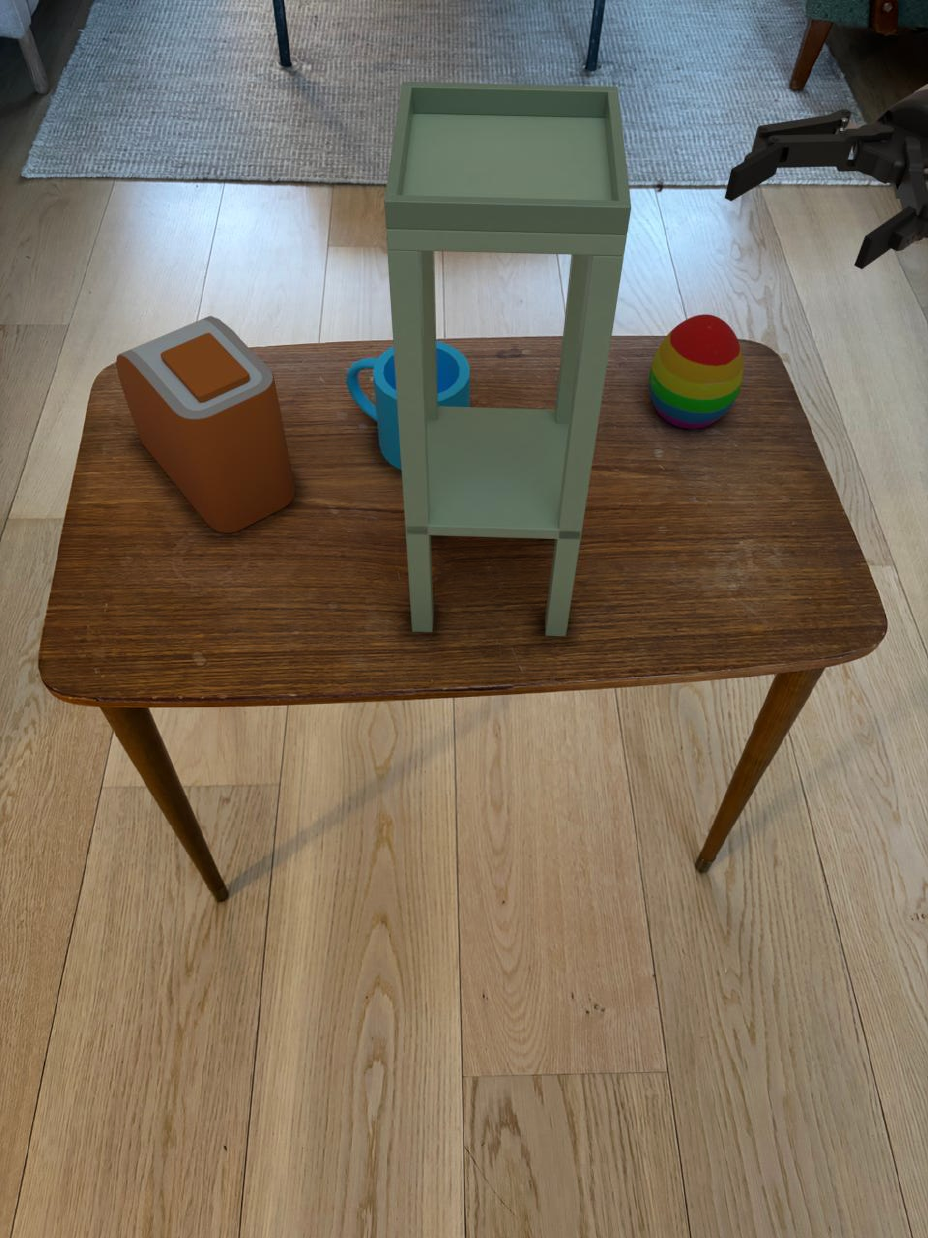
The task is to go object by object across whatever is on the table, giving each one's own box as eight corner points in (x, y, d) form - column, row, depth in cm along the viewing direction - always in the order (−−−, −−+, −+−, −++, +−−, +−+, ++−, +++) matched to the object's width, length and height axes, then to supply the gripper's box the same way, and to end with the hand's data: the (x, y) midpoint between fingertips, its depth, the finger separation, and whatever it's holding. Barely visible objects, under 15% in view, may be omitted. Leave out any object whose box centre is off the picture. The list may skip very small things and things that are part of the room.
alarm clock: (307, 496, 85) (285, 372, 74) (220, 541, 82) (184, 419, 71) (223, 403, 92) (191, 278, 81) (140, 442, 89) (96, 316, 78)
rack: (562, 521, 84) (617, 85, 55) (565, 636, 77) (631, 206, 48) (421, 517, 84) (402, 80, 55) (412, 631, 77) (383, 200, 48)
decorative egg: (638, 431, 90) (656, 342, 82) (648, 374, 95) (666, 284, 87) (728, 446, 89) (755, 357, 81) (734, 387, 94) (760, 298, 86)
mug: (485, 430, 90) (487, 358, 84) (440, 486, 86) (438, 416, 80) (375, 386, 94) (368, 314, 87) (326, 439, 90) (316, 367, 83)
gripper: (1035, 223, 90) (906, 323, 81) (808, 119, 101) (673, 198, 92) (1077, 142, 84) (943, 241, 75) (830, 41, 95) (689, 118, 86)
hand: (794, 218), depth 84 cm, fingers open, 13 cm apart
